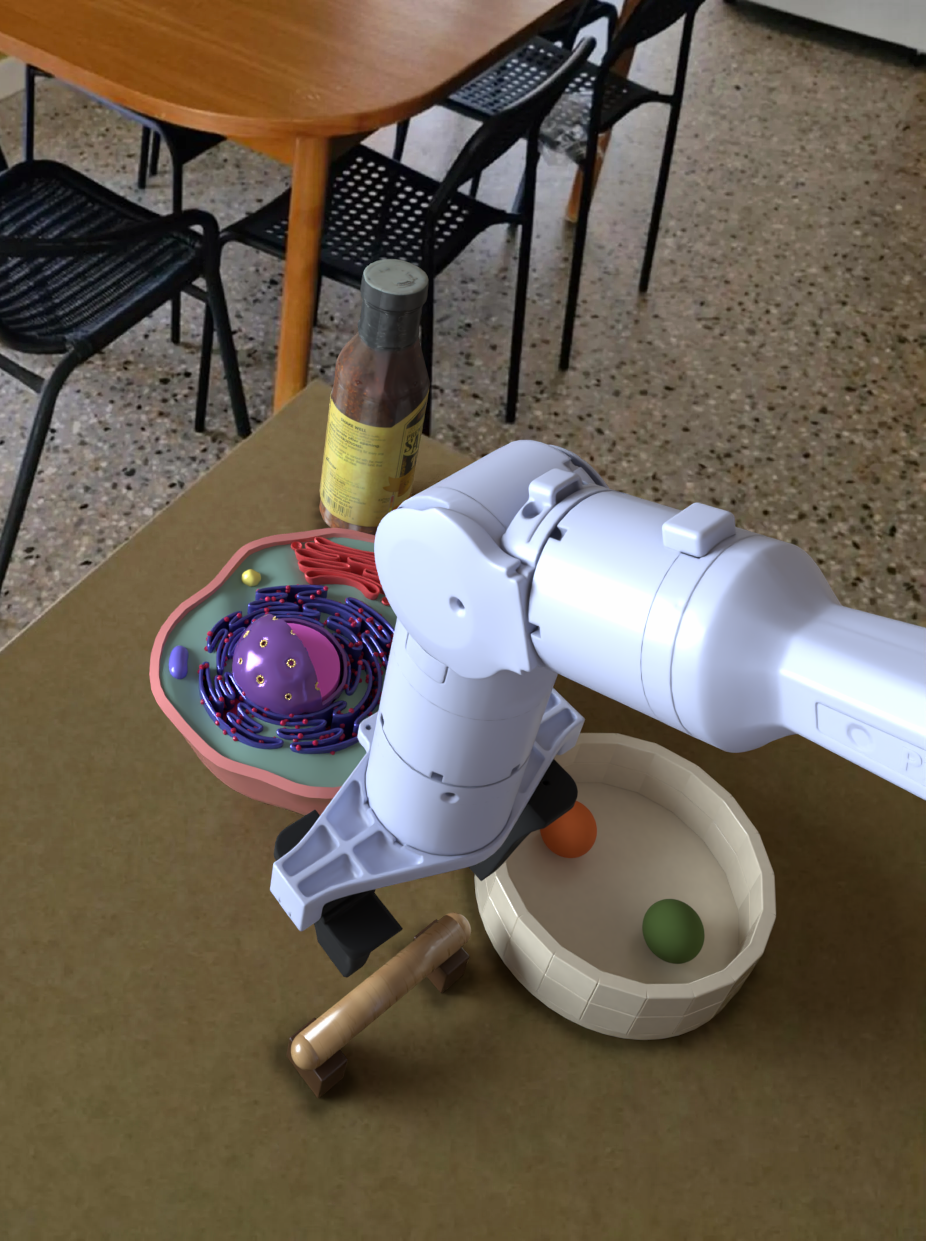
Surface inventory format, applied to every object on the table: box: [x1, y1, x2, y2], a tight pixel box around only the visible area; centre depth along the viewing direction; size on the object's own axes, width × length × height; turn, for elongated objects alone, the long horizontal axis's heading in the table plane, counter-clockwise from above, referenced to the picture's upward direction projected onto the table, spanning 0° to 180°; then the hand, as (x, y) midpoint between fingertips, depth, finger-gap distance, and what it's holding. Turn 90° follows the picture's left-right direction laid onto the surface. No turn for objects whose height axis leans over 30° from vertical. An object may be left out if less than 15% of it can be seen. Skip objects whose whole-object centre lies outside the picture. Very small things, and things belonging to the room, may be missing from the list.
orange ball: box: [540, 801, 597, 858], centre depth 67 cm, size 3×3×3 cm
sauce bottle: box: [319, 258, 431, 535], centre depth 81 cm, size 7×6×20 cm
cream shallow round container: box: [473, 732, 777, 1041], centre depth 65 cm, size 14×14×4 cm
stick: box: [291, 911, 472, 1071], centre depth 59 cm, size 11×2×2 cm, turn 128°
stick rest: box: [285, 918, 470, 1099], centre depth 60 cm, size 10×2×2 cm, turn 128°
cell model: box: [148, 527, 397, 816], centre depth 70 cm, size 17×20×11 cm
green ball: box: [642, 899, 705, 964], centre depth 63 cm, size 3×3×3 cm
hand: (406, 905), depth 54 cm, fingers open, 7 cm apart
